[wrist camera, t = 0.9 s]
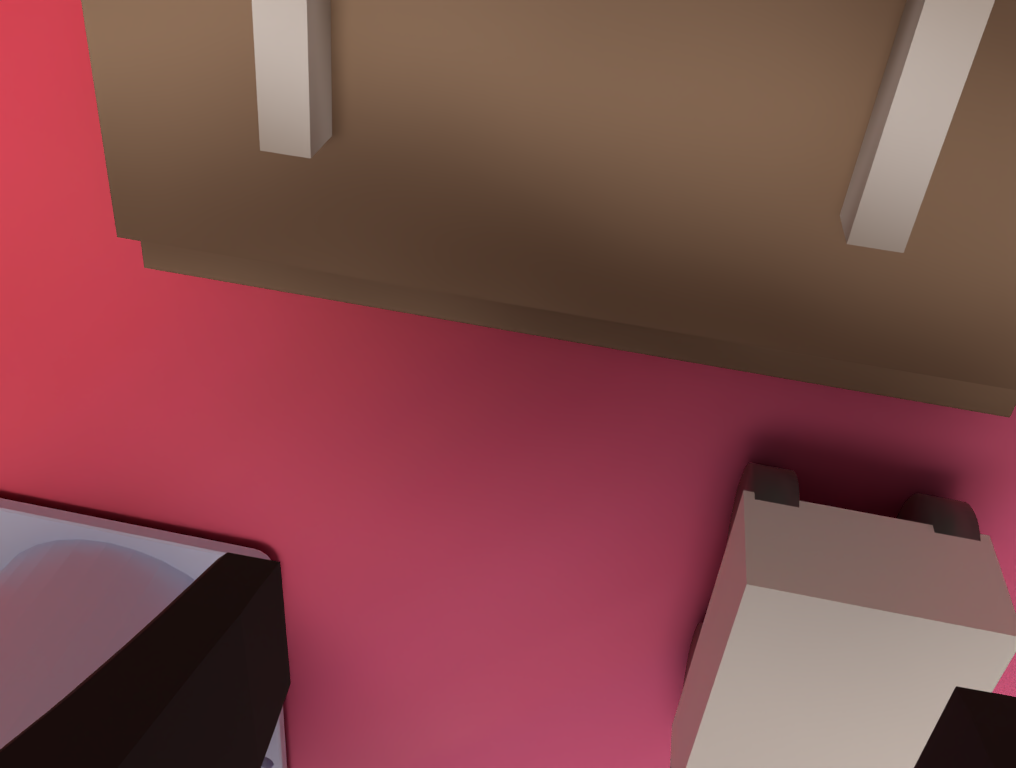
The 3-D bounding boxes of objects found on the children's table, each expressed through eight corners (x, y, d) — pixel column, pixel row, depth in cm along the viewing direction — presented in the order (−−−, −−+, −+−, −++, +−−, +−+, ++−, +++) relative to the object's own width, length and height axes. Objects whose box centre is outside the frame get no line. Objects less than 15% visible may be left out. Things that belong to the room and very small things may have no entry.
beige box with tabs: (847, 738, 23) (867, 901, 20) (665, 700, 24) (657, 855, 21) (973, 475, 19) (1026, 633, 15) (742, 434, 19) (747, 579, 16)
